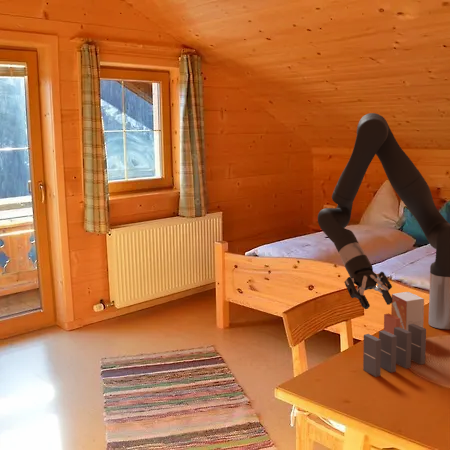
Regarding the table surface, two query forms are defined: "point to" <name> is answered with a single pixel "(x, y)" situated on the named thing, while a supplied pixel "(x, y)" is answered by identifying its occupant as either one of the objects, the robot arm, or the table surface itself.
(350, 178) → the robot arm
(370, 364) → the domino
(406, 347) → the domino
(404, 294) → the small box
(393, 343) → the domino
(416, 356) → the domino
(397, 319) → the domino
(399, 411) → the table surface
